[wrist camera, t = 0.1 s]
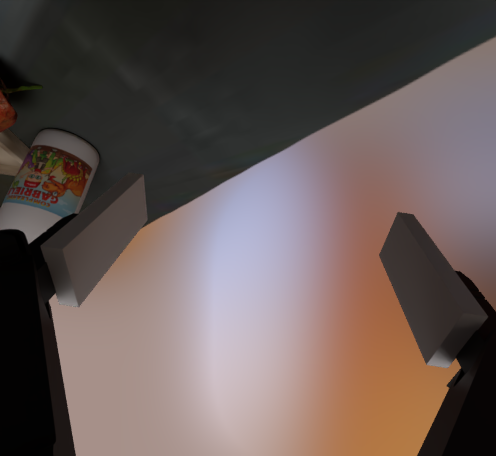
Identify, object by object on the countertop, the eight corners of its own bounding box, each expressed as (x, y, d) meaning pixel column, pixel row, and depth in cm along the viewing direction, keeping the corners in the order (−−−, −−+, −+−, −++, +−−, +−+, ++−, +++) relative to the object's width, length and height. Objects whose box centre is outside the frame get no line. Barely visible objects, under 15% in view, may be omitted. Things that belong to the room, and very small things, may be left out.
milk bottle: (111, 163, 44) (59, 301, 37) (65, 161, 45) (6, 292, 38) (78, 127, 37) (4, 288, 29) (24, 125, 38) (-59, 278, 31)
